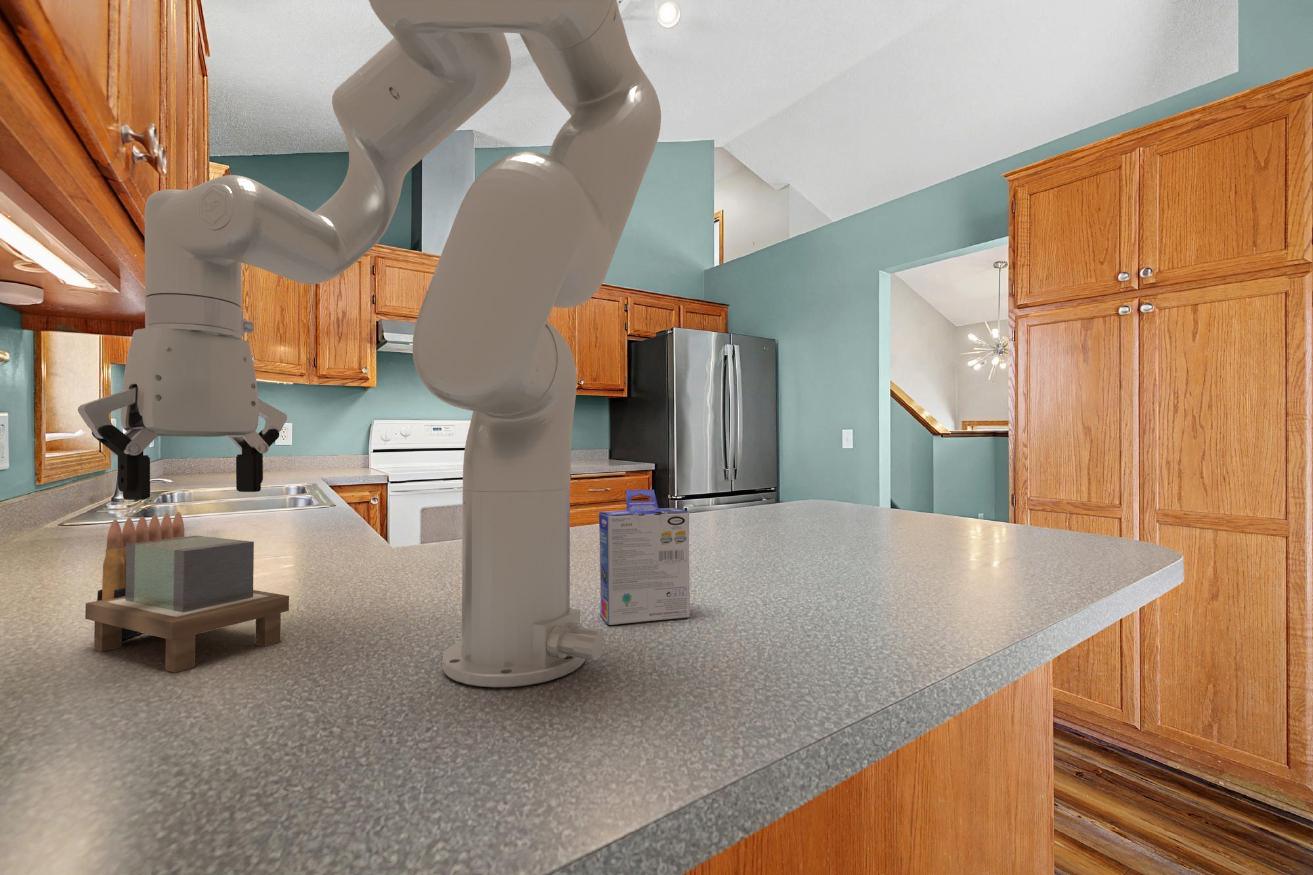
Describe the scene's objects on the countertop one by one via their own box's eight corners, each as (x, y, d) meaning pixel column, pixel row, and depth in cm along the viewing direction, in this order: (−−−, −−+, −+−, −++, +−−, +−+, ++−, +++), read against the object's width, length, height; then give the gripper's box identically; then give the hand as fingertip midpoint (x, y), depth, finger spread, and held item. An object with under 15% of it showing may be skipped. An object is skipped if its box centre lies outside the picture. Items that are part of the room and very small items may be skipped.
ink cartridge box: (676, 606, 72) (675, 488, 72) (692, 618, 66) (692, 491, 67) (597, 613, 68) (597, 489, 69) (608, 627, 63) (608, 493, 63)
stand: (288, 640, 59) (289, 595, 59) (171, 675, 50) (172, 621, 50) (202, 622, 65) (203, 581, 65) (84, 650, 56) (85, 602, 56)
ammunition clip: (114, 642, 57) (117, 520, 58) (93, 643, 57) (97, 520, 58) (190, 614, 68) (192, 511, 69) (173, 614, 68) (175, 511, 68)
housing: (195, 587, 62) (196, 535, 62) (253, 597, 58) (253, 541, 58) (125, 600, 57) (126, 543, 57) (183, 612, 52) (184, 551, 53)
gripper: (262, 340, 67) (263, 489, 67) (60, 309, 52) (60, 502, 51) (304, 333, 64) (306, 489, 64) (102, 297, 48) (103, 503, 48)
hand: (196, 495), depth 57 cm, fingers open, 9 cm apart
